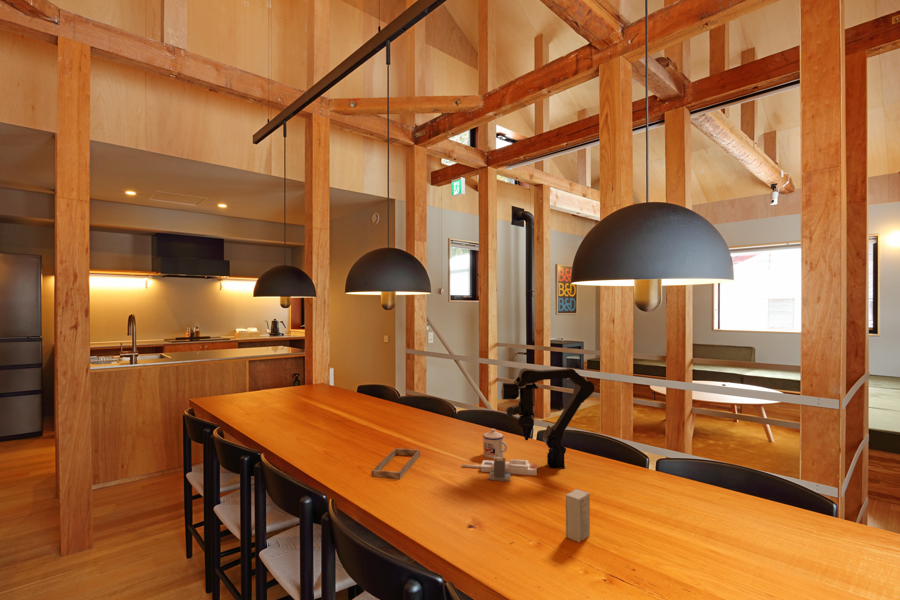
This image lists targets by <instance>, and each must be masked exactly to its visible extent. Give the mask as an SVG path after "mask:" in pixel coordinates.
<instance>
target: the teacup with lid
mask: <svg viewBox="0 0 900 600" xmlns="http://www.w3.org/2000/svg"><path fill="white" fill-rule="evenodd" d="M482 437H483V441H482V443H483V445H482V446H483V456H484V457H485V458H488V459H495V457H503V455H504V454H505V453H506V452H507V450H508V443H506V442H505V441H504V435H503V434H502V433H500V432H498V431H497V430H496V428H491V429H490V431H488V432H485V433H484V434H482Z"/></svg>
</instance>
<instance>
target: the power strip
mask: <svg viewBox="0 0 900 600" xmlns="http://www.w3.org/2000/svg"><path fill="white" fill-rule="evenodd" d="M495 458H505V457H503V456H502V457H495ZM495 458H493V459H494V460H495ZM494 460H487V459H486V460H485V459H483V460H482V462H481V464H480V465H479V464H478V465H477V464H461V467H462V468H472V469H473V468H474V469H480V472H482V473H483V472H484V473H485V472H486V473H490V472H491V471H494ZM537 464H538V463H532V462H530V463H529V460H528V459H516V458H515V459H514V458H512V459H510V461H505V472H511V475H512V474H513V475H524V476H525V475H527V476H538V475H537V473H538V465H537Z"/></svg>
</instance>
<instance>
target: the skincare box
mask: <svg viewBox="0 0 900 600" xmlns="http://www.w3.org/2000/svg"><path fill="white" fill-rule="evenodd" d="M590 495H591V493H590V492H588V491H585V490H582V489H578V488H575V489H573V490H572V491H569V492H568V493H567V494H565V538H568V539H569V540H571V541H574V542H576V541H577V543H581V542H582V541H583V540H585V539H587V538H588V537H589V536H591V518H590V515H591V513H590V512H591V509H590V508H591V504H590V503H591V501H590ZM581 540H582V541H581Z"/></svg>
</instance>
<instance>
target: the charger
mask: <svg viewBox="0 0 900 600" xmlns="http://www.w3.org/2000/svg"><path fill="white" fill-rule="evenodd" d="M494 459H495V460H493V461H494V477H505V462H506V458H505V457H504V458H494Z"/></svg>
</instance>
